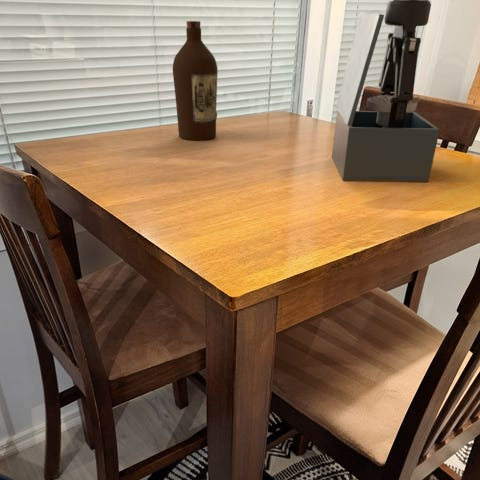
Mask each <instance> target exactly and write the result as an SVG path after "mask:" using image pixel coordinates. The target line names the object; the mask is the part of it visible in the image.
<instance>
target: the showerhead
mask: <svg viewBox="0 0 480 480" xmlns="http://www.w3.org/2000/svg"><path fill="white" fill-rule="evenodd" d="M391 98H394V95H392V96H390V95H384V96H382V95H381V96H380V95H378V94H377V95H373V96H371V97H369V98H367V100H366V108H367V109H369V110H370V111H378V112H377V120H376V123H377V124H378V125H380V126H384V127H382V128H388V123H389V117H390V111H391V104H392V103H391V102H390V100H391ZM420 101H421V99H420V97H415V98H413V99H412V100H411V101H409V102H408V103H407V109H406V112H415V111H416V110H417V107H418V102H420Z"/></svg>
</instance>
